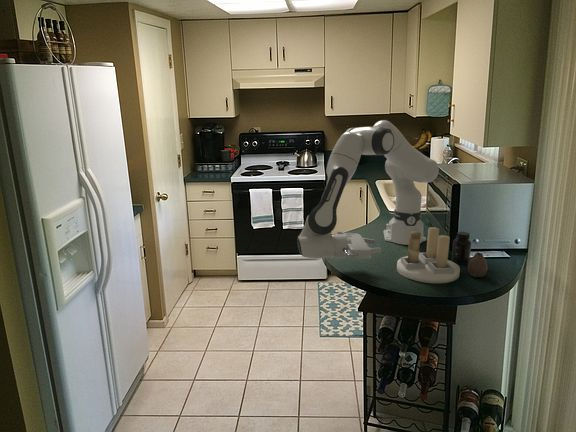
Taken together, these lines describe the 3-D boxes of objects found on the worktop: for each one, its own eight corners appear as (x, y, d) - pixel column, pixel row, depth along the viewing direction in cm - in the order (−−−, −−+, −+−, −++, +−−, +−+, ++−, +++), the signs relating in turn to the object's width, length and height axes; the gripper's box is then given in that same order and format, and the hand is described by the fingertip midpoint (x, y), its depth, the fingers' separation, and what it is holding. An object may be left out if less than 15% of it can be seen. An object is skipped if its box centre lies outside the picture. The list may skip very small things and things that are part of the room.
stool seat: (389, 261, 195) (392, 224, 191) (445, 260, 197) (449, 223, 193) (407, 283, 173) (410, 242, 169) (469, 282, 175) (474, 241, 171)
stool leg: (405, 263, 186) (408, 231, 183) (416, 263, 186) (418, 231, 183) (408, 267, 182) (411, 234, 179) (419, 267, 182) (422, 234, 179)
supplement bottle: (447, 260, 198) (450, 231, 194) (460, 257, 200) (463, 230, 197) (459, 265, 192) (462, 236, 188) (472, 263, 194) (476, 234, 191)
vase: (472, 271, 186) (475, 249, 184) (489, 276, 181) (492, 254, 179) (463, 275, 182) (465, 253, 179) (480, 280, 177) (483, 258, 174)
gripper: (346, 247, 169) (385, 246, 170) (337, 230, 189) (371, 229, 190) (345, 263, 171) (384, 263, 172) (336, 245, 191) (371, 245, 192)
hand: (377, 245), depth 181 cm, fingers open, 8 cm apart
